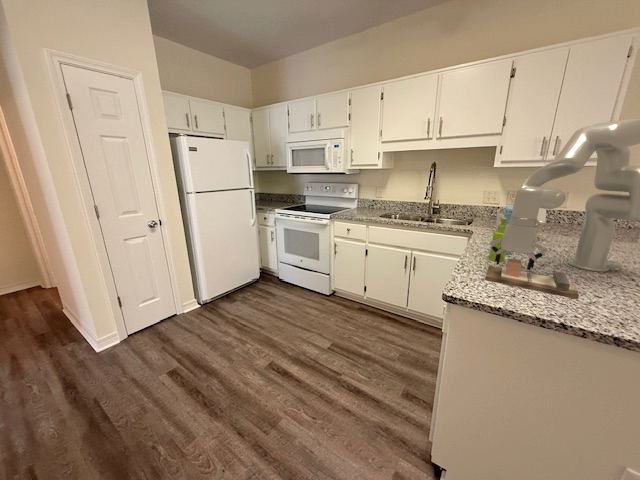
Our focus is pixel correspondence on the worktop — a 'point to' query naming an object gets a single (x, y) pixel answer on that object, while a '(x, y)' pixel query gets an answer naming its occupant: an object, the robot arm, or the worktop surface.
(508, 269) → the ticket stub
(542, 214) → the white box
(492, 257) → the soap dispenser
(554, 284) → the ticket board
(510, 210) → the light blue box
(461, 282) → the worktop surface
